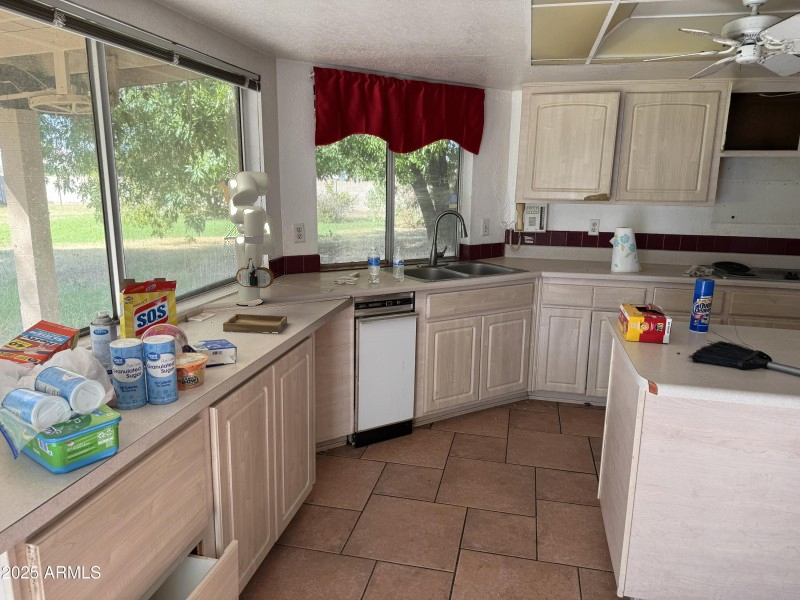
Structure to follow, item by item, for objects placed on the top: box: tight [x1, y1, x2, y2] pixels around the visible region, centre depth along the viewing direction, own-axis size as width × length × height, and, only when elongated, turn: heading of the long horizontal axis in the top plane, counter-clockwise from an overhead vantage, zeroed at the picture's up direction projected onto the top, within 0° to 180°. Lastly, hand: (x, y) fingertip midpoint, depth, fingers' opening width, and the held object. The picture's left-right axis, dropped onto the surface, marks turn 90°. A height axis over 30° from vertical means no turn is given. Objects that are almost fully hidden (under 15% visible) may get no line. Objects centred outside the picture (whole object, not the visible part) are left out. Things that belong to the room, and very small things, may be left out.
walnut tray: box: [222, 313, 288, 334], centre depth 208 cm, size 15×21×3 cm
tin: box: [235, 266, 275, 289], centre depth 218 cm, size 15×3×8 cm, turn 88°
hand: (254, 284), depth 219 cm, fingers closed on tin, 2 cm apart
